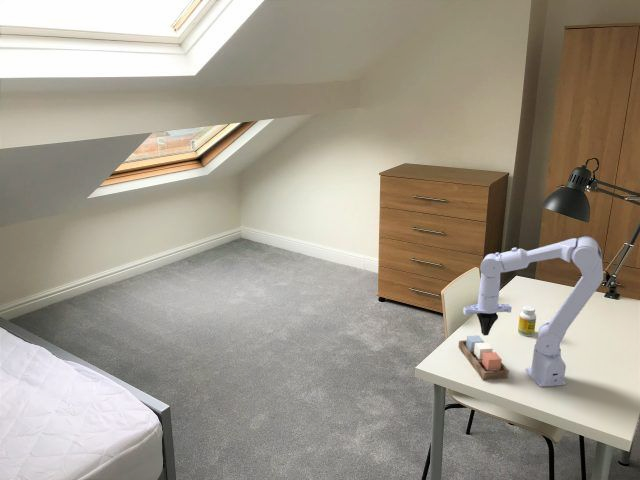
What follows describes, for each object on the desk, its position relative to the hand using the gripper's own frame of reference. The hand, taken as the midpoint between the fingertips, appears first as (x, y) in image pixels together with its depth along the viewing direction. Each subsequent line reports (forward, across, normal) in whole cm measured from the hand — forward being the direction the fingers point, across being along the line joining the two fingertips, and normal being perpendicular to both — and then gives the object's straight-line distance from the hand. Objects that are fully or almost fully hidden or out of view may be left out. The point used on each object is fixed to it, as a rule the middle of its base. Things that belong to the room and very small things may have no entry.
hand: (484, 333), depth 164 cm
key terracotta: (+8, 0, +6) cm, 10 cm away
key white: (+8, 0, 0) cm, 8 cm away
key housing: (+10, 0, 0) cm, 10 cm away
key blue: (+9, 0, -6) cm, 10 cm away
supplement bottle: (+10, -23, -16) cm, 30 cm away
